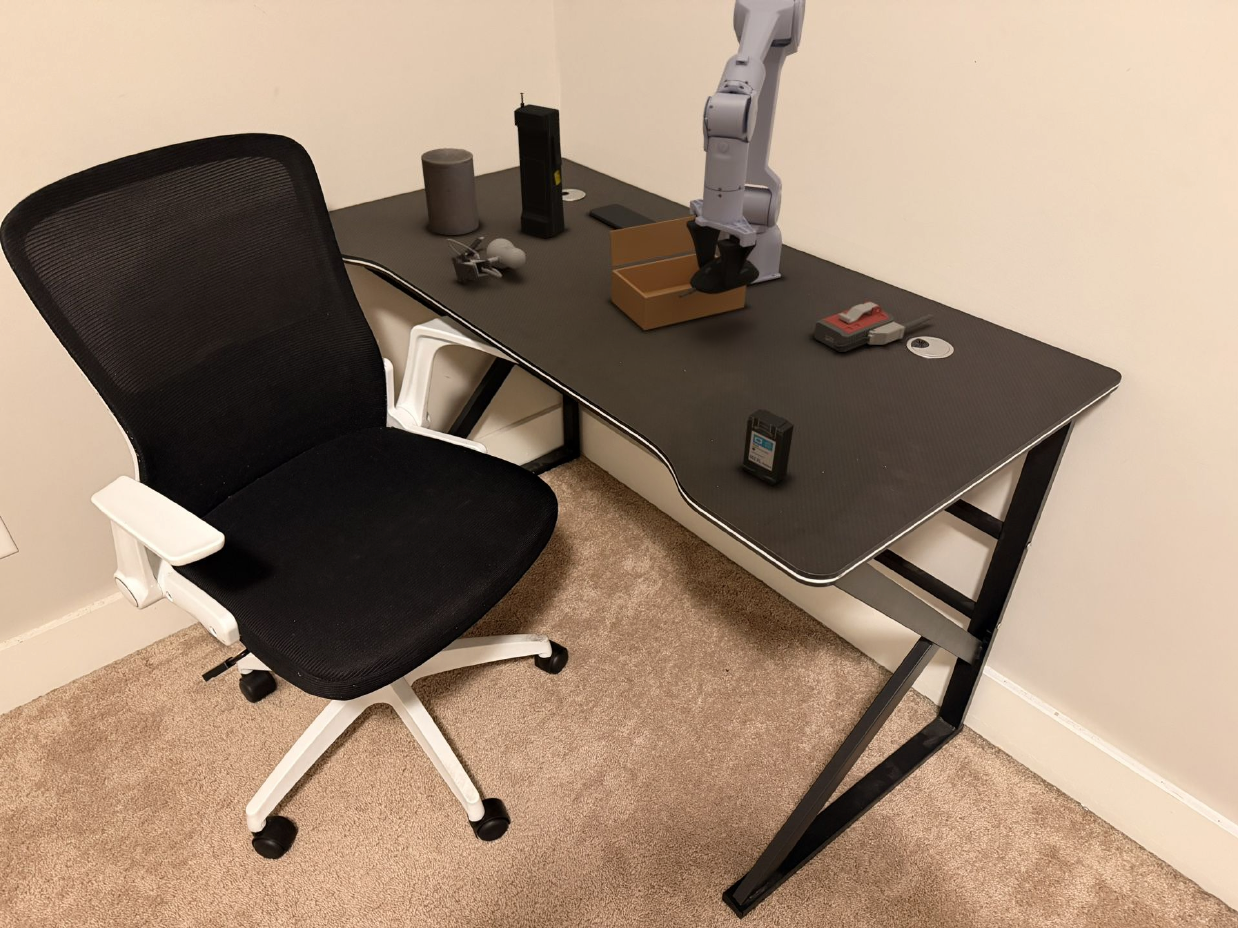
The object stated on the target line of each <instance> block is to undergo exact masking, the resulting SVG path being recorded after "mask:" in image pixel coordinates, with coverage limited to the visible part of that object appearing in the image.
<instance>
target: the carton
mask: <svg viewBox="0 0 1238 928" xmlns="http://www.w3.org/2000/svg"><path fill="white" fill-rule="evenodd" d="M717 257H719V256H718V255H716V254H715V258H717ZM699 269H700V268H699V267H698V262H697V257H696V252H695V253H692V254H691V253H690V254H685V255H681V256H676V257H671V258H666V259H661V260H656V261H651V262H646V263H641V264H636V265H630V266H625V267H620V268H615V269H611V302H612V303H613V304H614V305H615V306H616V307H617V308H619V309H620V310H621V311H622V312H623V313H624V314H625V315H627V317H629V318H630V319H631V320H632V321H633V322H635V324H636V325H638V326H639V327H640V328H641V329H642V330H644V331H647V330H651V329H652V330H653V329H656V328H661V327H665V326H669V325H673V324H678V323H682V322H686V321H691V320H694V319H695V320H696V319H699V318H703V317H708V316H712V315H716V314H721V313H725V312H730V311H734V310H737V309H738V310H739V309H742V308H745V302H746V291H747V285H746V286H742V287H739V288H736V289H733V290H730V291H727V292H723V293H720V294H706V293H702V292H699V291H696V292H694V293H692V294H688V295H686V296H684V297H681V298H680V297H679V295H681V294H684V293H686V292H688V290H690V289H693V288H692V286H691V285H690V279H691V278H692V277H693V275H694V274H695V273H696V272H697V271H698V270H699Z"/></svg>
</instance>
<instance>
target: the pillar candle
mask: <svg viewBox="0 0 1238 928" xmlns="http://www.w3.org/2000/svg"><path fill="white" fill-rule="evenodd" d="M420 160H421V168H422V176H423V186H424V192H425V199H426V200H425V201H426V209H427V217H428V223H429V226H428V228H429V230H430V231H431V232H433V233H435V234H438V235H442V236H457V235H458V236H460V235H466V234H469V233H472V232H474V231H476V230H478V228H479V210H478V200H477V190H476V189H477V188H476V177H475V167H474V154H473V153H472V152H471V151H469V150H467V149H464V148H454V147H449V148H448V147H443V148H435V149H430V150H428V151H425V152H423V153H422V154H421V157H420Z"/></svg>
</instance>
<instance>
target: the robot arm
mask: <svg viewBox="0 0 1238 928" xmlns="http://www.w3.org/2000/svg"><path fill="white" fill-rule="evenodd" d="M806 3H807V2H806V0H735V1H734V7H733V16H732V17H733V18H732V23H733V24H732V26H733V31H734V33H735V37H736V40H737V43H738V45H739V46H738V50H737V53H736V54H733V55H732V56H731V57H730V58H728V59H727V61H726V63H725V66H724V68H723V71H722V74H721V77H720V80H719V83H718V86H717V88H716V91H715V92H713V94H712V96H711V95H708V96H707V97H706V99H705V102H704V107H703V111H702V135H703V145H702V146H703V147H702V148H703V152H705V162H704V163H705V164H704V176H703V177H704V178H703V192H702V193H703V194H702V198H699V199H691V200H689V214H690V215H691V216H695V218H694V220H690V221H687V223H686V226H687V228H688V230H689V232H690V234H691V237H692V239H693V243H694V246H695V250H694V251H695V253H696V257H697V262H698V267H699V268H701V267H702V266H704V265H705V264H707V263H708V262H710V261H711V260H712V259H714V258H715V255H716V251H717V250H718V252H719V256H721V263H722V284H723V285H724V286H730V285H735V284H737V281H738V278H739V276H740V273H741V270H742V268H743V265H744V263H745V261H746V260H749V261H750V262H751V263H752V264H753V265H754V266H755V267H756V268H757V269H758V271H759V277H758V279H756V280H755V281H753V282H752V283H751V284H750V285H753V284H757V283H761V282H766V281H769V280H770V281H771V280H775V279H780V278H781V276H782V275H781V273H779V269H780V261H781V255H782V246H783V236H782V231H781V229H780V227H779V225H777V224H778V221H779V217H780V212H781V208H782V207H781V205H782V189H783V183H782V179H781V178H780V176H778V174H777V173H776V172H775V171H773V169H772V168H771V167H770V166H769V160H770V155H771V148H772V147H771V146H772V140H773V139H772V138H773V132H774V125H775V119H776V112H777V104H778V98H779V91H780V90H779V89H780V82H781V75H782V69H783V67H784V64H785V62H786V59H787V57H788V56H791V55H794V54H796V53H798V50H799V47H800V45H801V39H802V33H803V27H804V21H805V14H806ZM751 185H754V186H751ZM759 186H761V187H759ZM721 231H722V232H723V233H724V238H723V239H719V237H720V234H721ZM717 248H718V249H717Z"/></svg>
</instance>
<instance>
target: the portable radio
mask: <svg viewBox="0 0 1238 928" xmlns="http://www.w3.org/2000/svg"><path fill="white" fill-rule="evenodd" d="M519 94H520V99H521V102H520V107H517V108H516V109H514V111H513V117H514V126H515V127H516V128H517V144H518V160H519V161H518V162H519V178H520V197H521V214H520V229H521V232H522V233H524V234H529V235H531V236H535V237H540V238H543V239H549V238H551V237H554V236H556V235H558V234H560V233H561V232H563V231H565V229H566V228H565V227H566V225H565V214H564V196H563V194H564V193H563V174H562V166H563V160H562V158H563V157H562V147H561V124H560V122H561V121H560V119H561V118H560V110H559V109H558V108H553V107H547V106H542V105H537V104H531V103H529V104H525V103H524V94H525V93H524V92H519Z"/></svg>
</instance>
